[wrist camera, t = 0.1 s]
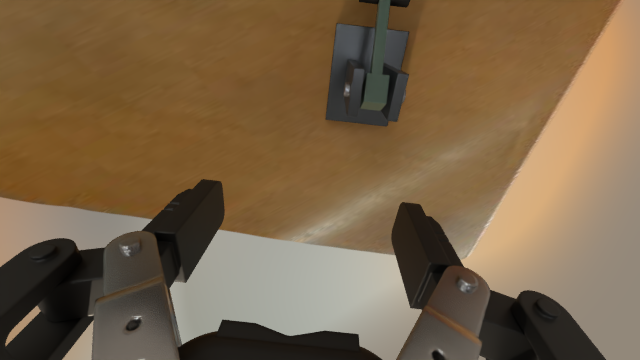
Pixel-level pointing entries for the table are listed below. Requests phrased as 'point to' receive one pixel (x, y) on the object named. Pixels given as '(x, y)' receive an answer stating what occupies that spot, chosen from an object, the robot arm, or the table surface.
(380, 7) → the lever
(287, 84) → the table surface
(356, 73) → the bracket
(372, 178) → the table surface
